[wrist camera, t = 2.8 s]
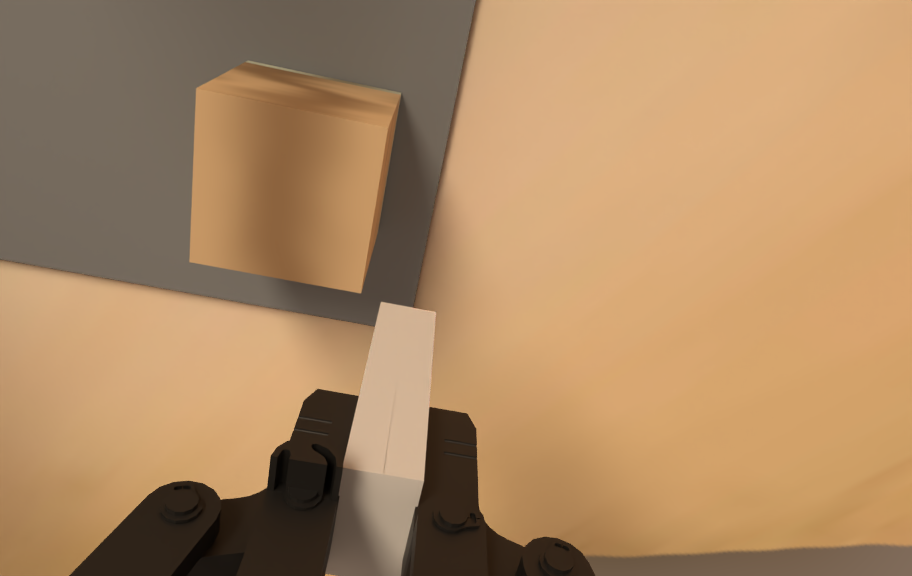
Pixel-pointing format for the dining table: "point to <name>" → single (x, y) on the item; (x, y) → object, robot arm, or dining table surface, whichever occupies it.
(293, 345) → the dining table surface
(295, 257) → the wooden block
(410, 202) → the slate mat
